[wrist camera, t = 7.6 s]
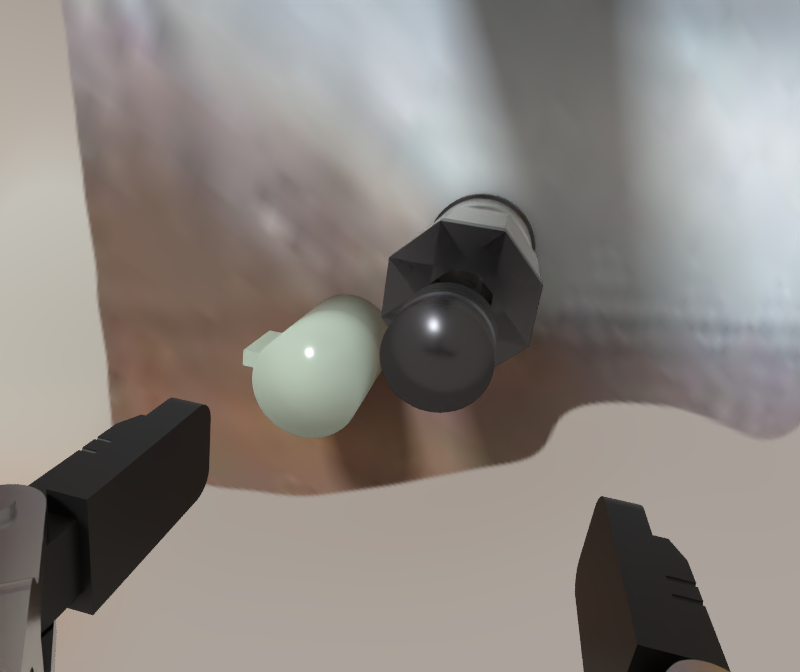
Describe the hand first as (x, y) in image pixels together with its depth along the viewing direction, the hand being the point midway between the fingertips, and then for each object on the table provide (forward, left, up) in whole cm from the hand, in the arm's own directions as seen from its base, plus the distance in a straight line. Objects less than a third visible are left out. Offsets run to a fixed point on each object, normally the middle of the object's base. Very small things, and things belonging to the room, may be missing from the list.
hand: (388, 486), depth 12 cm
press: (0, 0, -28) cm, 28 cm away
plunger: (0, 0, -21) cm, 21 cm away
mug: (+8, -8, -28) cm, 30 cm away
